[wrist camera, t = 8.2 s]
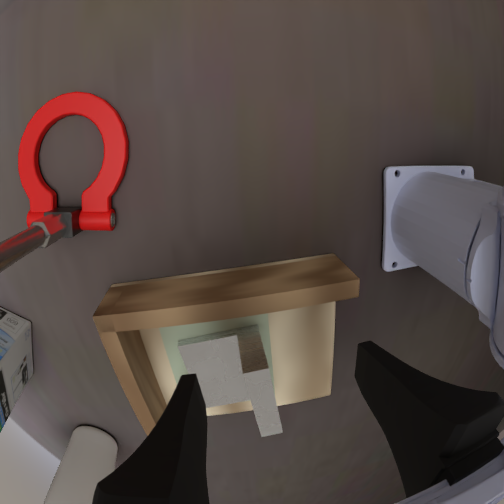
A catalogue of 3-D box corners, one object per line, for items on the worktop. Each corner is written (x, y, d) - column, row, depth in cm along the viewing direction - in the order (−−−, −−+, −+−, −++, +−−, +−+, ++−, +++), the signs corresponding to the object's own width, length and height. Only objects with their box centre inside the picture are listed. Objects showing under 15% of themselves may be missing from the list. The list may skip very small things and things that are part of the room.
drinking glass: (124, 428, 26) (104, 556, 12) (125, 459, 28) (112, 568, 14) (63, 411, 25) (25, 529, 11) (72, 445, 27) (46, 547, 13)
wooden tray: (335, 255, 22) (359, 279, 18) (330, 394, 26) (344, 425, 23) (110, 287, 20) (92, 316, 17) (160, 419, 25) (157, 452, 21)
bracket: (271, 388, 25) (282, 432, 20) (203, 401, 25) (204, 446, 20) (257, 324, 23) (268, 368, 18) (178, 340, 22) (172, 385, 18)
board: (333, 253, 22) (336, 256, 21) (328, 391, 27) (330, 395, 26) (112, 284, 21) (109, 287, 20) (161, 415, 26) (160, 420, 25)
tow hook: (29, 102, 16) (27, 227, 19) (-101, 78, 4) (-95, 298, 6) (135, 90, 17) (129, 229, 20) (43, 10, 5) (37, 326, 8)
